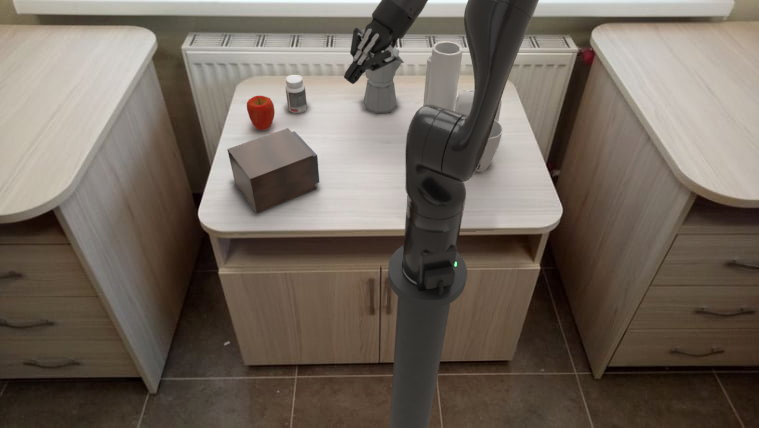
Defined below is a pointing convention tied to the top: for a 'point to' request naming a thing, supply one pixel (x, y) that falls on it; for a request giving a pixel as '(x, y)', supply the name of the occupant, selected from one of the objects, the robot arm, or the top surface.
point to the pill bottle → (296, 94)
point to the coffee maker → (382, 87)
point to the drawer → (313, 157)
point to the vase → (443, 75)
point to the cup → (491, 146)
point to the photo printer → (469, 103)
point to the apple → (261, 112)
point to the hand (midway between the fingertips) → (348, 80)
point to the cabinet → (272, 169)
